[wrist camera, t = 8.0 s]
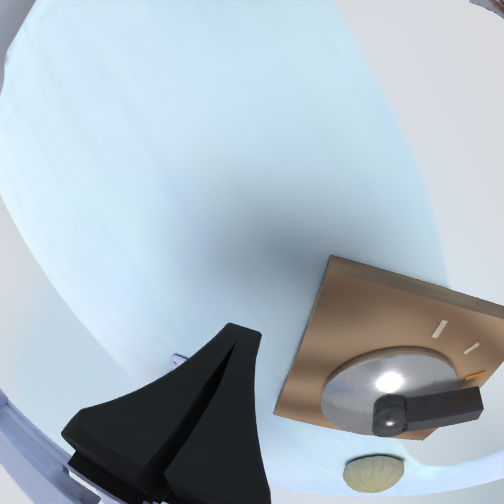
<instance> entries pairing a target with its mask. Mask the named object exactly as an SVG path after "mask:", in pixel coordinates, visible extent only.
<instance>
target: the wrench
mask: <svg viewBox="0 0 504 504" xmlns="http://www.w3.org/2000/svg"><path fill="white" fill-rule="evenodd" d="M469 2H470V3H473V4H476V5H479V6H482V7H484V8H486V9H488V10H490V11H493V12H494V13H496V14H497V15H499V16H500V17H502V18H503V19H504V0H470V1H469Z"/></svg>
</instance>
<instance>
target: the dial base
mask: <svg viewBox="0 0 504 504" xmlns="http://www.w3.org/2000/svg"><path fill="white" fill-rule="evenodd" d="M402 347H414V348H423V349H428V350H432V351H434V352H437V353H439V354H441V355H443V356H444V357H446V358H447V359H448V360H449V361H450V362H451V363H452V365H453V366H454V369H455V372H456V376H457V381H458V390H460V389H464V388H469V387H474V386H479V389H480V387H481V386H482V385H483V384H484V383H485V382H486V381H487V380H488V379H489V378H490V376H491V375H492V374H493V373H494V372H495V370H497V368H498V367H499V366H500V365H501V364H502V362H503V361H504V306H502V305H498V304H495V303H492V302H489V301H486V300H482V299H479V298H476V297H473V296H470V295H466V294H463V293H460V292H456V291H453V290H450V289H447V288H443V287H440V286H437V285H433V284H430V283H427V282H423V281H420V280H417V279H413V278H410V277H406V276H403V275H399V274H396V273H393V272H389V271H386V270H382V269H379V268H375V267H372V266H368V265H365V264H361V263H358V262H354V261H351V260H347V259H343V258H340V257H336V256H333V255H331V256H330V259H329V262H328V265H327V269H326V272H325V275H324V278H323V281H322V284H321V287H320V290H319V293H318V296H317V298H316V301H315V304H314V307H313V310H312V313H311V316H310V318H309V321H308V324H307V327H306V329H305V332H304V335H303V337H302V340H301V343H300V345H299V348H298V350H297V353H296V355H295V358H294V361H293V363H292V366H291V368H290V371H289V373H288V375H287V378H286V380H285V383H284V385H283V388H282V390H281V392H280V395H279V397H278V399H277V402H276V406H275V409H274V412H273V414H274V415H277V416H281V417H285V418H289V419H292V420H296V421H300V422H305V423H309V424H313V425H318V426H322V427H327V428H332V429H337V430H342V431H346V430H343V429H341V428H339V427H337V426H336V425H334V424H332V423H331V422H330V421H329V420H328V419H327V418H326V417H325V415H324V414H323V412H322V409H321V398H322V393H323V388H324V385H325V383H326V381H327V380H328V378H329V377H330V376H331V375H332V374H333V373H334V372H335V371H336V370H337V369H338V368H340V367H341V366H343V365H344V364H346V363H348V362H350V361H351V360H353V359H355V358H358V357H360V356H363V355H366V354H369V353H372V352H376V351H380V350H384V349H391V348H402ZM437 428H438V427H437ZM437 428H431V429H425V430H417V431H409V432H404V433H402V434H400V435H397V436H393V437H389V438H399V439H410V440H424V439H425V438H426V437H428V436H429V435H430V434H431V433H432V432H434V431H435V430H436V429H437ZM348 432H349V431H348ZM374 436H376V435H374Z"/></svg>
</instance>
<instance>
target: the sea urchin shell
mask: <svg viewBox="0 0 504 504" xmlns="http://www.w3.org/2000/svg"><path fill="white" fill-rule="evenodd" d="M403 472H404V465H403V463H402V462H401V461H399V460H397V459H395V458H391V457H388V456H373V457H366V458H362V459H358V460H355V461H352V462H350V463H349V464H348V465H346V466H345V468H344V473H343V478H344V480H345V482H346V483H347V485H348V486H349V487H351V488H352V489H353V490H356V491H358V492H365V493H377V492H381V491H384V490H386V489H388V488H390V487H392V486H393V485H394V484H396V483H397V482H398V481H399V480H400V478H401V477H402V476H403V474H404V473H403Z"/></svg>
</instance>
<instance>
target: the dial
mask: <svg viewBox="0 0 504 504" xmlns="http://www.w3.org/2000/svg"><path fill="white" fill-rule="evenodd" d="M321 409H322V412H323V414H324V415H325V417H326V418H327V419H328V420H329V421H330V422H331V423H332V424H334V425H336V426H337V427H339V428H341V429H343V430H346V431H349V432H353V433H357V434H362V435H376V436H379V437H393V436H397V435H400V434H402V433H404V432H409V431H417V430H425V429H431V428H437V427H443V426H448V425H454V424H458V423H463V422H468V421H472V420H476V419H478V418H479V416H480V414H481V413H482V411H483V409H484V408H483V403H482V399H481V395H480V390H479V386H474V387H469V388H464V389H460V390H458V381H457V376H456V372H455V369H454V366H453V365H452V363H451V362H450V361H449V360H448V359H447V358H446V357H444V356H443V355H441V354H439V353H437V352H434V351H432V350H428V349H423V348H414V347H402V348H391V349H384V350H380V351H376V352H372V353H369V354H366V355H363V356H360V357H358V358H355V359H353V360H351V361H350V362H348V363H346V364H344V365H343V366H341V367H340V368H338V369H337V370H336V371H335V372H334V373H333V374H332V375H331V376H330V377H329V378H328V380H327V381H326V383H325V385H324V388H323V393H322V398H321Z"/></svg>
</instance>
